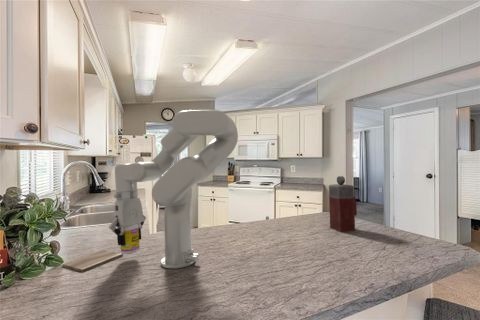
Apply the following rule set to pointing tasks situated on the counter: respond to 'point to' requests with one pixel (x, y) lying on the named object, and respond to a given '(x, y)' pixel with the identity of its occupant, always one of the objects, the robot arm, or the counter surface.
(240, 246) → the counter surface
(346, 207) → the red canister
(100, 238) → the counter surface
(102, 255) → the board
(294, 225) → the counter surface
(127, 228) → the supplement bottle
